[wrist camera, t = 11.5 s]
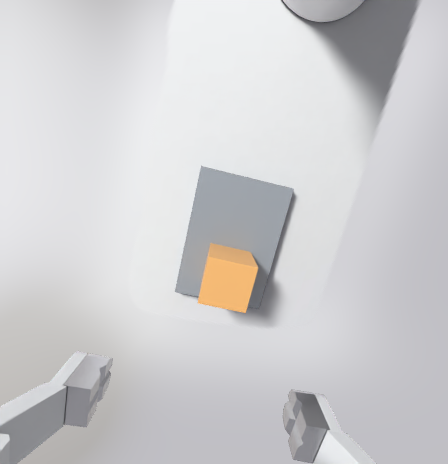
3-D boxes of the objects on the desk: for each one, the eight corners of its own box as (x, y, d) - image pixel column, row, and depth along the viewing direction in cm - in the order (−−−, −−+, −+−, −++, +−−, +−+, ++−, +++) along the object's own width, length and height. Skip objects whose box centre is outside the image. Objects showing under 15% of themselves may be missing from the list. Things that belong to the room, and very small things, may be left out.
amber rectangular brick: (210, 242, 35) (208, 256, 28) (250, 251, 35) (258, 267, 29) (201, 280, 36) (197, 303, 29) (240, 289, 37) (245, 313, 30)
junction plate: (201, 166, 34) (198, 162, 28) (290, 188, 35) (305, 189, 29) (176, 287, 38) (168, 306, 32) (257, 304, 39) (264, 325, 33)
